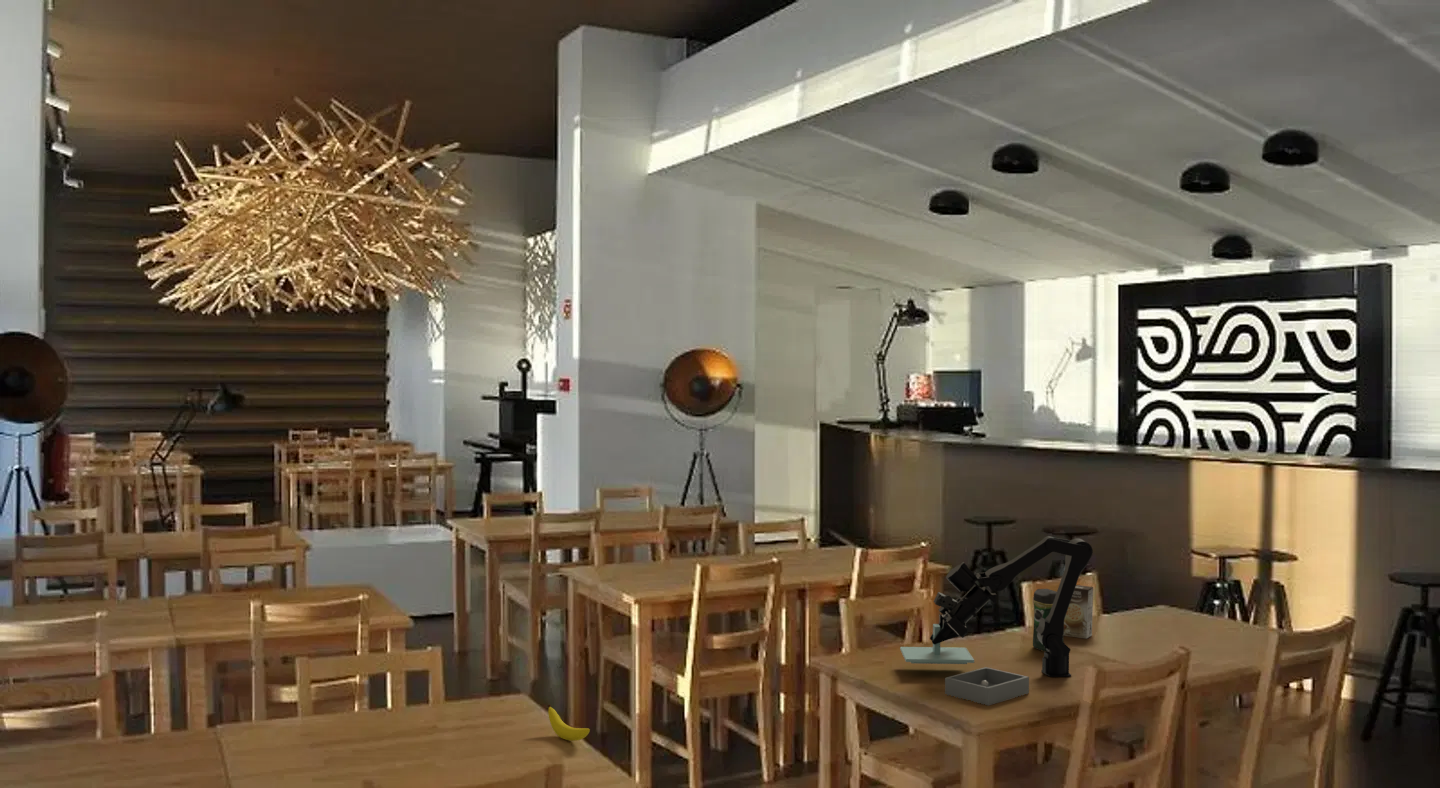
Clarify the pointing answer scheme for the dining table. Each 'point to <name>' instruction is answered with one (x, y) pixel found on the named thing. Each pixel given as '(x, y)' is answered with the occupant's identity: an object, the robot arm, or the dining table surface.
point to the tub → (987, 685)
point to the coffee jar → (1041, 611)
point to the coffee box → (1079, 613)
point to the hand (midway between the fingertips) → (931, 641)
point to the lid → (936, 653)
